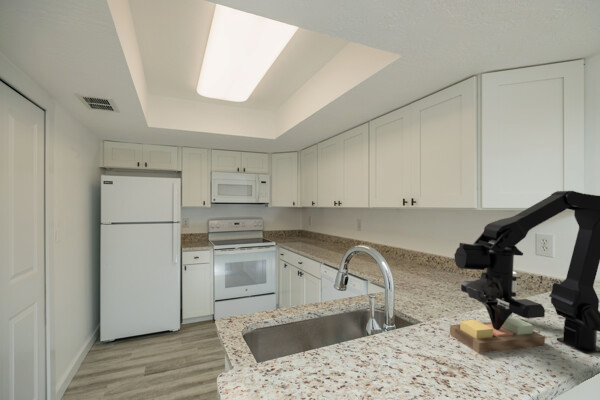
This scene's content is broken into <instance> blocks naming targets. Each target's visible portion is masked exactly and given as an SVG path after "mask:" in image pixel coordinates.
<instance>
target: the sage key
mask: <svg viewBox="0 0 600 400" xmlns="http://www.w3.org/2000/svg"><path fill="white" fill-rule="evenodd" d="M502 327H503V328H505V329H507V330H509V331H511V332H513V333H515V334H517V335H523V334H533V331H534V325H533V324H531V323H528V322H526V321H524V320H522V319H520V318H517V317H515V316H512V317H508V318H507V320H506V321H505V322H504V324H503V325H502Z"/></svg>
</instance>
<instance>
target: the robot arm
mask: <svg viewBox="0 0 600 400" xmlns="http://www.w3.org/2000/svg"><path fill="white" fill-rule="evenodd" d="M566 210H571V211H574V215H573V216H574V219H575V221H576V223H577V225H578V232H577V234H576V239H575V243H574V247H573V249H572V250H573V251H572V255H571V259H570V262H569V267H568V270H567V273H566V278H565V279H564V280H563V281H561V282H560V283H557V282H554V283H553V284H552V286H551V287H552V288H551V293H550V294H549V296H548V297H550V303H551V305H552V306H553V308H554V310H555V313H556V315H558V316H560V317H563V318H564V321H563V322H564V323H563V324H564V325H563V336H562V337H556V341H558V342H560V343H562V344H565V345H567V346H569V347H571V348H573V349H574V350H575V349H576V351H577V350H578V351H580V352H582V353H584V354H594V353H600V346H597V340H598V339H597V338H598V337H597V336H598V332H600V310H599V305H600V304H599V303H600V299H599V296H598V295H597V292H596V290H595V287H594V285H595V281H596V277H597V273H598V268H599V264H600V195H597V194H589V193H582V192H578V191H574V190H557V191H555V192H553V193H551V194H550V195H549V196H548V197H545V198H544V199H542V200H540V201H539V202H537V203H535V204H533V205H532V206H531V205H530V207H528V208H526V209H525V210H523V211H521V212H519V213H516V214H515V215H513V216H510V217H506V218H500V219H498V220H495V221H492V222H490V223H487V224H486V225H485V226H484V229H483V232H481V234H480V235H479V237H477V239H476V240H475V241H474V242H473V243H466V242H459V247H457V248H456V250H455V253H454V255H453V256H454V257H453V258H454V263H455V265H456V267H457V268H458V269H460V270H461V269H462V270H476V271H477V270H480V271H483V272H481V274H480V279H475V280H464V281H462V283H461V284H460V285H461V287H460V290H461V291H462V292H464V293H466V294H467V295H468V298H470V299H474V300H476V301H478V302H479V303H481V304H482V305H483V306H484V307H485V308H486V311H487V313H488V316H489V318H490V322H492V325H493V328H494V329H496V330H499V329H500V328H501V327H502V325H503V324H504V322H505V321H506V320H507V318H508V317H509V316H510V315H511V314H512V315H513V314H514V315H516V316H520V318H524V319H534V318H536V319H537V318H545V316H546V314H545V312H546V309H545V307H544V305H542V304H541V303H538V302H536V301H533V300H530V299H528V298H522V299H516V297H517V291H516V292H513V291H512V283H513V281H517V282H518V276H517V277H515V276H513V271H514V263H515V261H514V260H515V258H514V256H521V257H522V256H524V253H523V252H522V251H521V250H519V248H518V247H517V244H519V243H520V242H521V241H523V240H524V239H526V237H527V235H528V233H529V231H531V230H532V229H533V228H536V227H537V226H539V225H541V224H543V223H545V222H546V221H549V219H552V218H553V217H555V216H557V215H559V214H561V213H562V212H565V211H566ZM484 270H485V271H484ZM512 297H515V299H513V298H512Z"/></svg>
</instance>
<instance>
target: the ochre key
mask: <svg viewBox="0 0 600 400" xmlns="http://www.w3.org/2000/svg"><path fill="white" fill-rule="evenodd" d="M460 329H461V330H462V331H464V332H466V333H467V334H469V335H471V336H472V337H474V338H475V339H483V338H493V329H492V328H490V327H489V326H487V325H485V324H483V322H480V321H479V320H477V319H471V320H470V319H469V320H460Z"/></svg>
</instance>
